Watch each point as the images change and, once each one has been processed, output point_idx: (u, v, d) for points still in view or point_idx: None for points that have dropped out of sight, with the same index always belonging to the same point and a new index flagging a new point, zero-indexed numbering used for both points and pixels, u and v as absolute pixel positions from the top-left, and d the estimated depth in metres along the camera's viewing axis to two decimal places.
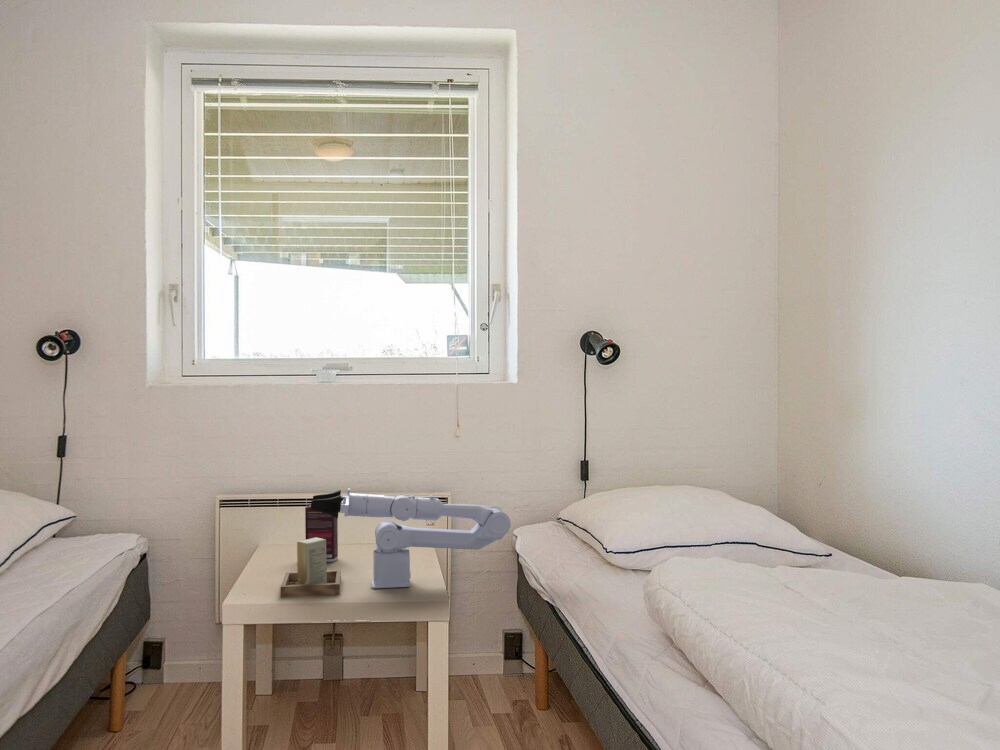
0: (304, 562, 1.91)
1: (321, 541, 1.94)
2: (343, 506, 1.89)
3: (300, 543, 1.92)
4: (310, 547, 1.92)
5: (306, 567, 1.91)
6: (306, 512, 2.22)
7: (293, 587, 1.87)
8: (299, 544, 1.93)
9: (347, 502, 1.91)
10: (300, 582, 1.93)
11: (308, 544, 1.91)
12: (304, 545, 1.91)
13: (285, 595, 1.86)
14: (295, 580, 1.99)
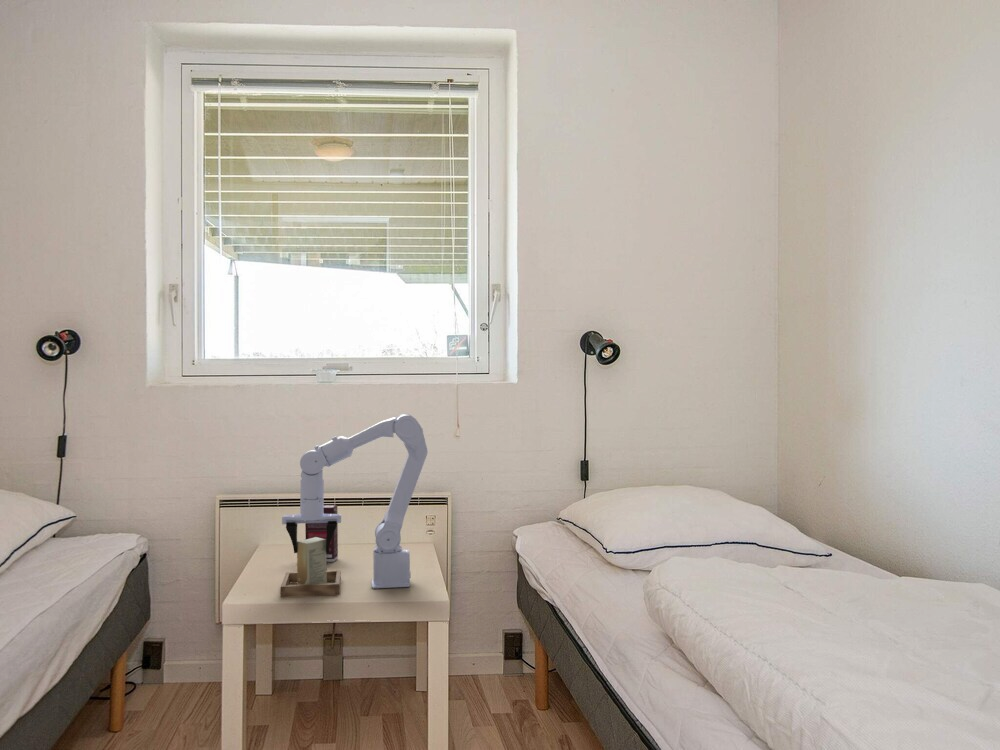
0: (304, 562, 1.91)
1: (321, 541, 1.94)
2: None
3: (300, 543, 1.92)
4: (310, 547, 1.91)
5: (306, 567, 1.91)
6: None
7: (293, 587, 1.87)
8: (299, 544, 1.92)
9: None
10: (300, 582, 1.93)
11: (308, 544, 1.91)
12: (304, 545, 1.91)
13: (285, 595, 1.86)
14: (295, 580, 1.99)
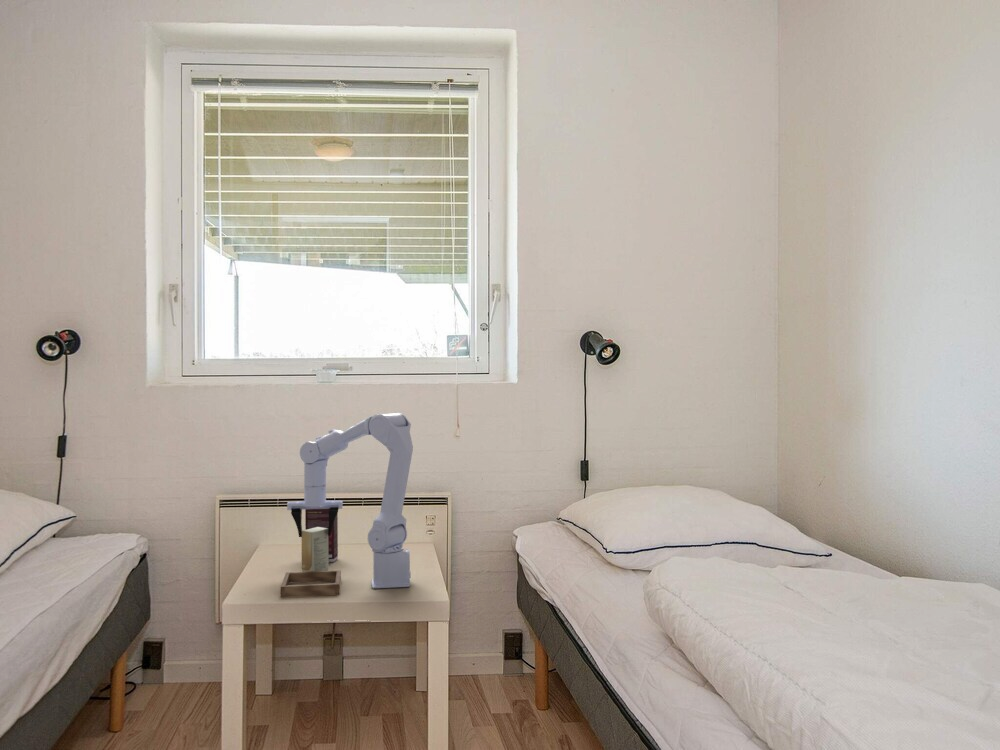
0: (309, 549, 2.05)
1: (324, 530, 2.08)
2: None
3: (305, 532, 2.06)
4: (315, 536, 2.05)
5: (311, 554, 2.05)
6: (306, 512, 2.22)
7: (293, 587, 1.87)
8: (304, 533, 2.06)
9: None
10: (304, 568, 2.06)
11: (313, 533, 2.05)
12: (309, 534, 2.05)
13: (285, 595, 1.86)
14: (295, 580, 1.99)
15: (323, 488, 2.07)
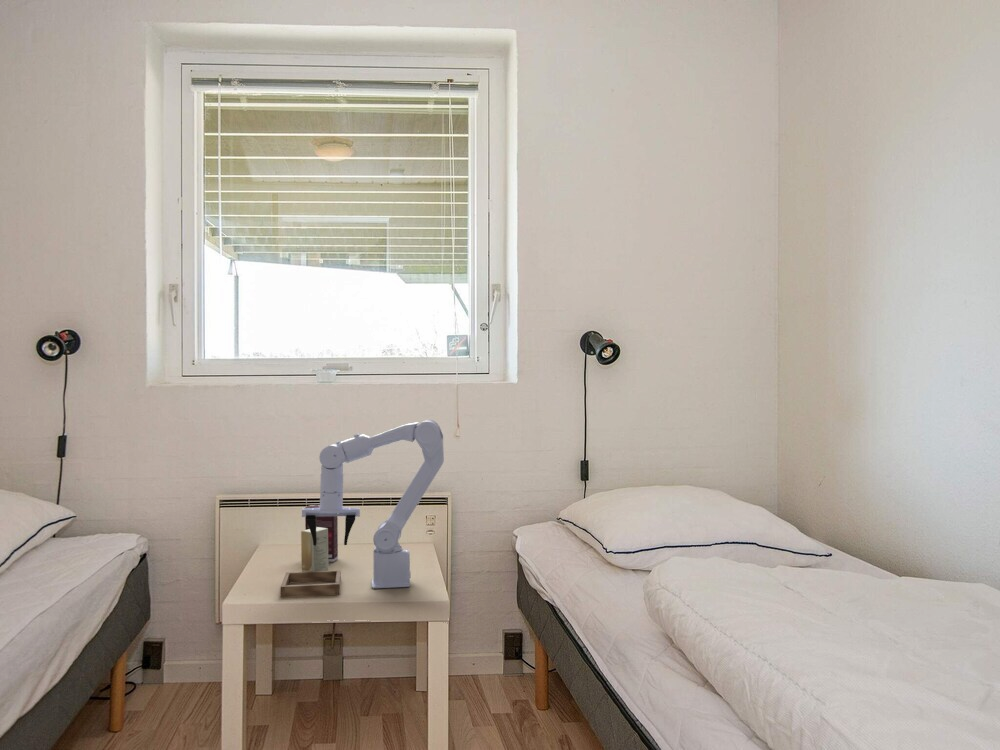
0: (309, 549, 2.05)
1: (324, 530, 2.08)
2: None
3: (304, 532, 2.06)
4: None
5: (311, 554, 2.05)
6: None
7: (293, 587, 1.87)
8: (303, 533, 2.06)
9: None
10: (304, 569, 2.06)
11: None
12: (309, 534, 2.05)
13: (285, 595, 1.86)
14: (295, 580, 1.99)
15: (340, 494, 1.96)
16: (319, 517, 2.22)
